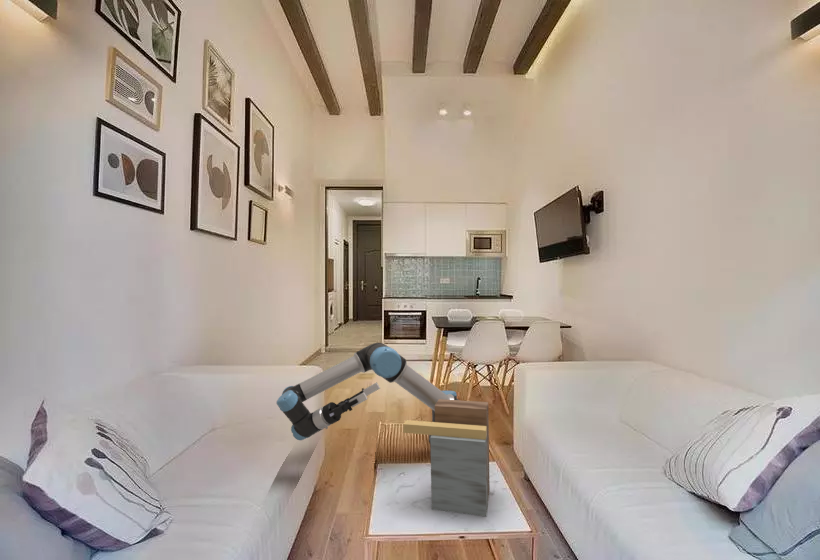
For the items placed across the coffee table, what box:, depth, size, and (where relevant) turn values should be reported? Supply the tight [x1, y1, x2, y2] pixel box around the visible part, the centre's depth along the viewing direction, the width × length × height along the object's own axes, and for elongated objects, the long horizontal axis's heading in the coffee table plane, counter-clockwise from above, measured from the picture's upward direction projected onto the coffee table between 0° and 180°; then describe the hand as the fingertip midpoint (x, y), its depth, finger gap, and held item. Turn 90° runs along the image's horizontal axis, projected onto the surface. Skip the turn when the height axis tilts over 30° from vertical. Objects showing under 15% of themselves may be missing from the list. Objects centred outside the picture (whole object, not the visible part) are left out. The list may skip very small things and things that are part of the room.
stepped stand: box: [429, 399, 491, 517], centre depth 139 cm, size 16×18×32 cm
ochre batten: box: [402, 419, 487, 440], centre depth 136 cm, size 4×28×3 cm, turn 75°
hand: (372, 390), depth 149 cm, fingers open, 13 cm apart
